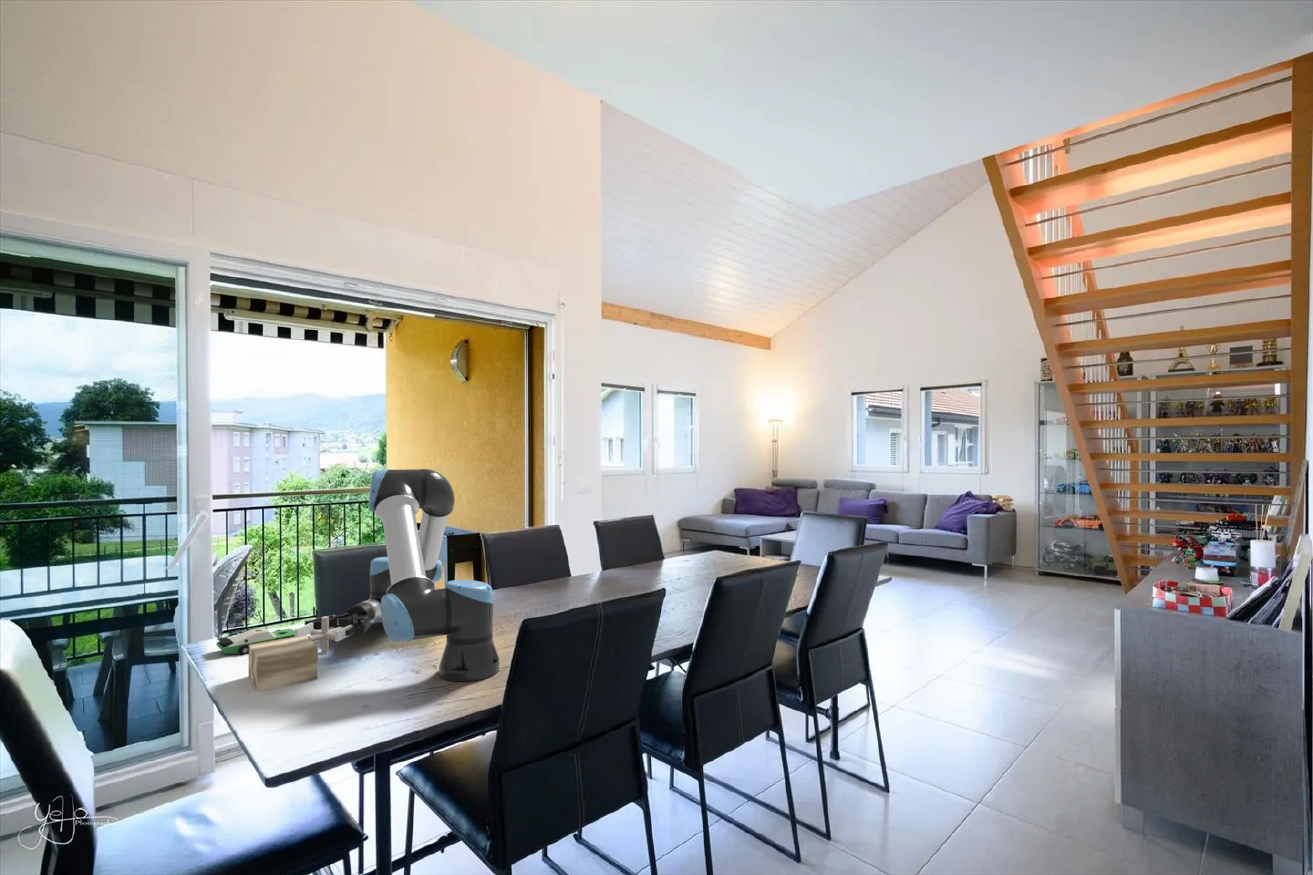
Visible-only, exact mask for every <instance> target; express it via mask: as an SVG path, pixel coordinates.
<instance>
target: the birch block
mask: <svg viewBox="0 0 1313 875" xmlns="http://www.w3.org/2000/svg"><path fill="white" fill-rule="evenodd" d="M318 669H319V646H317V645H316V643H314V641H313V642H312V641H311V640H310V639H309V638H308V635H303V636H297V637H291V638H286V639H280V640H274V641H268V642H263V643H257V644H251V645H249V654H248V678H249V680H250V681H251V683H252V685H253V686H254V689H255V690H256V692H259V693H260V692H264V691H268V690H272V689H278V688H281V687H286V686H291V685H295V684H294V683H296V684H301V683H304V682H310V681H314V680H318V679H319V670H318Z"/></svg>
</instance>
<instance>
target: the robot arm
mask: <svg viewBox="0 0 1313 875" xmlns="http://www.w3.org/2000/svg"><path fill="white" fill-rule="evenodd" d="M370 477H371V478H370V485H369V494H368V496H369V497H368V510H369V511H370V512H375V515H376V517H377V519H379V520H381V521H382V525H383V526H382V527H383V534H384V539H385V540H384V541H385V547H386V556H380V557H375V558H373V559H372V560H371V561H370V568H369V599H367V600H363V601H361V602H359V603H357V604H354V605H351V606H350V607H349V609H347V611H346V612H345V613H342V614H339V615H338V614H337V613H332V614H329V615H327V616H328V617H329V629H330V628H333V629H334V628H338V627H342V629H340V630H338V631H335V640H334V641H335V642H336V643H337V642H339V641H342V640H344V639H346V638H349V637H350V636H352V635H358V634H359V633H360V634H361V635H365V634H366V633H367V631H368V629H370V628H371V626H374V624H375V623H377V622H379V621H381V622H382V626H383V629H384V632H385V635H386V636H387V639H389V640H390V641H392V642H395V643H398V642H399V643H400V642H412V641H415V640H421V639H429V638H436V637H441V636H445V637H446V643H445V647H444V649H443V653H442V656H441V659H440V661H439V664H438V665H439V666H438V668H439V669H438V674H439V677H440V678H441V679H444V680H446V681H452V682H473V681H477V680H479V681H480V680H482V679H486V678H490V677H491V676H493V675H495V674H497V673H498V672H499V671H500V665H501V664H500V658H499V655H498V651H497V649H496V645H495V642H494V638H493V636H494V632H493V631H494V604H495V602H494V592H493V588H492V586H491V585H490V584H488V583H486V582H483V581H479V580H473V579H471V580H470V579H454V580H449V581H447V583H446V585H445V588H435V584H434V583H435V582H440V580H441V579H442V577H443V563H442V561H441V559H439V557H440V553H441V552H440V551H441V549H442V545H443V544H442V543H443V540H444V539H443V538H444V534H445V530H446V526H447V522H448V517H449V516H450V515H451V513H453V510H454V508H455V499H456V497H455V492H454V489H453V487H452V485H451V484H450V482H449V480H448V479H447V478H446V477H445V476H443V475H442V474H441V473H440V472H438V471H436V470H433V469H428V468H420V469H419V468H418V469H412V468H411V469H389V468H387V469H380V470H375V471H373V473H372V474H371V476H370ZM419 510H421V511H422V515H421V520H420V525H419V530H418V525H417V524H418V523H417V517H416V515H417V514H418V512H419ZM322 617H323V616H321V617H318V618H313V619H308V620H306V621H304V625H302V626H299V627H297V628H295V629H294V630H295V637H297V636H303V635H306V636H309V635H311V634H310V632H311V631H312V630H313V629H315V630H320V631H322Z"/></svg>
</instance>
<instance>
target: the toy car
mask: <svg viewBox="0 0 1313 875" xmlns="http://www.w3.org/2000/svg"><path fill="white" fill-rule="evenodd" d="M291 637H295V629H293V628H285V629H276V630H275V631H274V630H273V631H271V630H268V629H266V628H264V627H260V628H253V629H248V630H247V631H244V632H242V633H240V634H237V635H234V636H232V637H229V638H228V637H227V636H225V637H220V638H216V640H218V641H217V642H216V644H215V645H216V646H217V647H218V648H219V649H220V650H221V651H222V652H223V653H224V654H234V655H235V654H236V655H237V654H239V655H241V656H245V654H246V655H249V645H251V644H257V643H263V642H268V641H274V640H280V639H286V638H291Z"/></svg>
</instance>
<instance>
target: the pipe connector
mask: <svg viewBox="0 0 1313 875" xmlns="http://www.w3.org/2000/svg"><path fill="white" fill-rule="evenodd" d="M328 616H329V615H326V616H325V615H324V616H321V617H322V629H321V630H315V629H313V630H312V631H311V632H310V634H309V635H307V637H308V638H309V639H310V640H311V641H312V642H313V643H314V642H317V641H320V640H321V644H320V645H321V646H320V647H321V650H320V651H321V652H320V654H322V653H326V654H328V653H330V652H329V650H330V648H329V642H330V640H331V641H335V631H338V630H340V629H342V628H343V627H338V628H334V627H333V628H332V629H330V628H329V617H328ZM327 652H328V653H327Z"/></svg>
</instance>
